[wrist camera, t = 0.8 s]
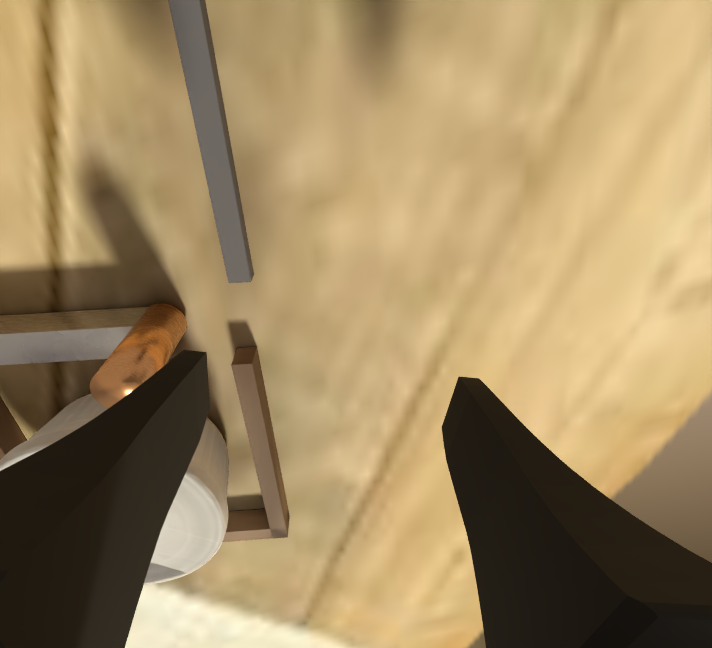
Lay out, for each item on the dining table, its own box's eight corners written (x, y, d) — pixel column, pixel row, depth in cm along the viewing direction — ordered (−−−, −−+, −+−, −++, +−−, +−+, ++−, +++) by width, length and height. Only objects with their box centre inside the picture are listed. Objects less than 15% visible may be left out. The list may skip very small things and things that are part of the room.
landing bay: (-98, 295, 19) (-114, 302, 19) (-338, -71, 13) (-376, -79, 12) (253, 274, 20) (250, 281, 19) (189, -90, 13) (181, -99, 13)
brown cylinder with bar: (-67, 352, 20) (-181, 431, 16) (-91, 317, 19) (-219, 390, 15) (191, 336, 21) (152, 410, 16) (181, 301, 20) (137, 368, 15)
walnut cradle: (67, 532, 28) (54, 554, 27) (-41, 365, 21) (-65, 383, 20) (289, 516, 29) (287, 537, 27) (256, 346, 22) (252, 363, 20)
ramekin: (77, 506, 27) (27, 592, 23) (13, 368, 22) (-72, 445, 17) (251, 503, 28) (236, 585, 24) (233, 368, 22) (208, 442, 18)
